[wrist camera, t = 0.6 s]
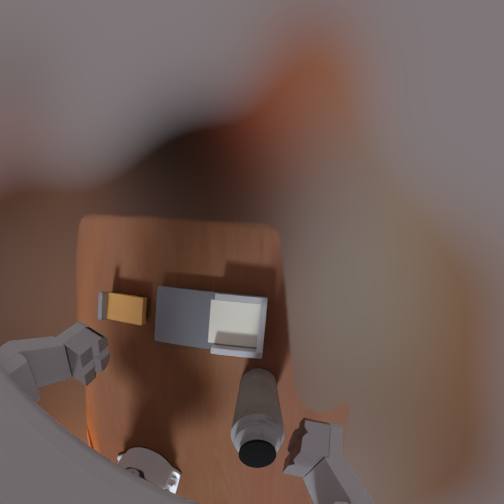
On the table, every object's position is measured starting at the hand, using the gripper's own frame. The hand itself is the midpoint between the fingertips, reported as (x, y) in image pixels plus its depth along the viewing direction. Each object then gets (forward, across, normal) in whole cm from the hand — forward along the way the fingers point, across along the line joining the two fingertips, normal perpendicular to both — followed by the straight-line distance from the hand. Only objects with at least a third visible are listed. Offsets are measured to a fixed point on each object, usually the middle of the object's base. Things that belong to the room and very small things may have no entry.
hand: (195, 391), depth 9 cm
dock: (+41, -11, -26) cm, 50 cm away
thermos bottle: (+38, +3, -37) cm, 53 cm away
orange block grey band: (+38, -30, -29) cm, 56 cm away
